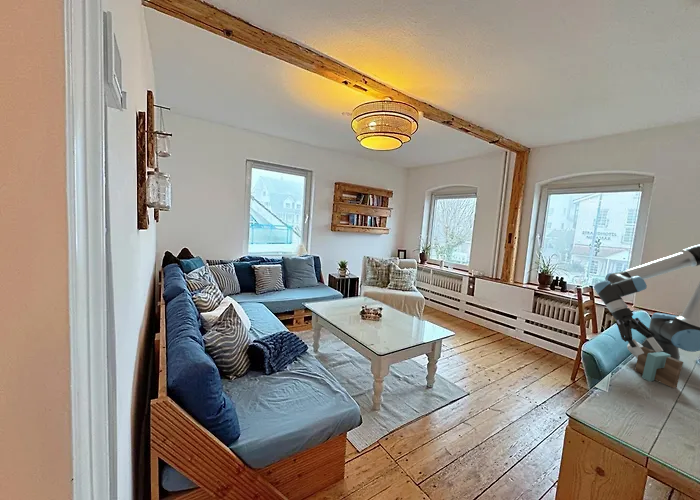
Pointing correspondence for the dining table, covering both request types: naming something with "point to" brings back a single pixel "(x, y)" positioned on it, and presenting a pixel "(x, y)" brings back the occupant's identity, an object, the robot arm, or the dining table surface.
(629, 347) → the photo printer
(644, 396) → the dining table surface
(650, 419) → the dining table surface
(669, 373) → the walnut slotted board
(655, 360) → the teal slotted plate
